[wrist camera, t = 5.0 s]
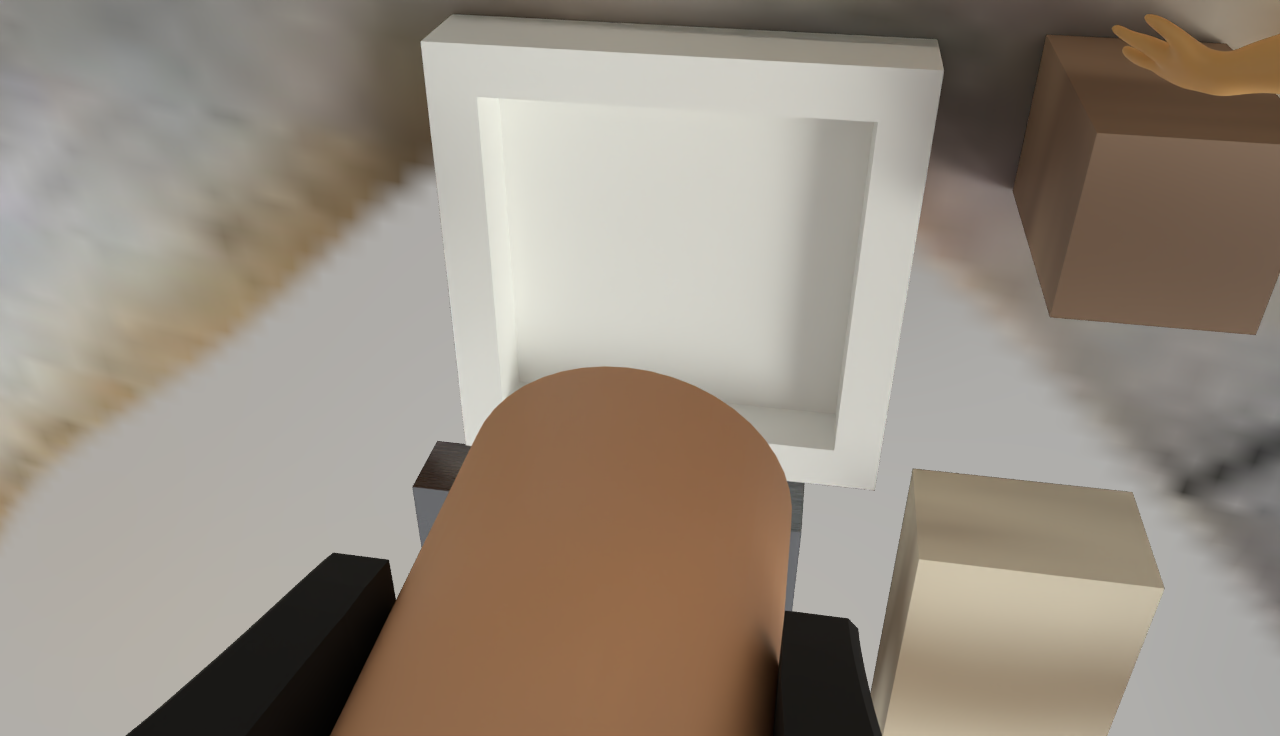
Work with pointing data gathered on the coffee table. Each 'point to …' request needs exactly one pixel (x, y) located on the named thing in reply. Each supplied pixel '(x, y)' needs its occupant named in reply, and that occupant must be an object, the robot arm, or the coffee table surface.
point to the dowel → (593, 574)
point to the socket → (451, 456)
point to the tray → (685, 216)
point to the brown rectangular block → (1148, 193)
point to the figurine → (1203, 60)
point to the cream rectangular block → (1013, 608)
